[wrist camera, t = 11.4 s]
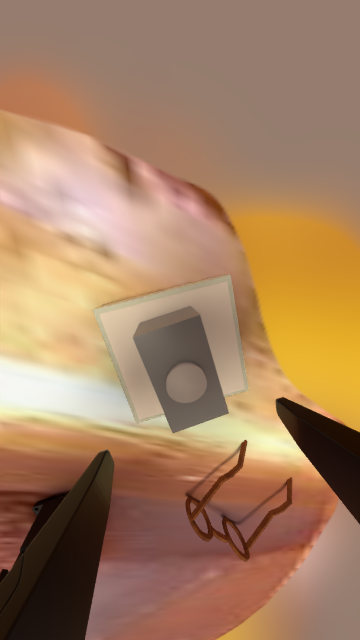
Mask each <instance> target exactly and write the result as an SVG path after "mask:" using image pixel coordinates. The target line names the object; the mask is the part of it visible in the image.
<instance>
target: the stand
mask: <svg viewBox="0 0 360 640" xmlns="http://www.w3.org/2000/svg"><path fill="white" fill-rule="evenodd" d="M189 306H191V307H192V308H193V309H194V310H196V311H197V312H198V313H199V314H200V316H201V319H202V323H203V326H204V330H205V333H206V336H207V340H208V343H209V347H210V350H211V354H212V357H213V360H214V364H215V367H216V371H217V374H218V378H219V381H220V385H221V388H222V391H223V395H224V397H228V396H231V395H234V394H238V393H241V392H245V391H248V390H249V389H248V382H247V376H246V369H245V363H244V357H243V350H242V344H241V337H240V331H239V325H238V318H237V312H236V305H235V299H234V293H233V286H232V280H231V275H219V276H215V277H211V278H207V279H204V280H200V281H196V282H192V283H188V284H184V285H180V286H176V287H172V288H168V289H164V290H160V291H156V292H152V293H149V294H145V295H141V296H137V297H133V298H129V299H125V300H121V301H117V302H113V303H109V304H105V305H102V306H100V307H98V308H96V309H93V313H94V315H95V318H96V321H97V323H98V326H99V328H100V331H101V333H102V336H103V339H104V341H105V344H106V346H107V349H108V351H109V354H110V357H111V359H112V362H113V364H114V367H115V369H116V372H117V375H118V377H119V380H120V382H121V385H122V387H123V390H124V393H125V395H126V398H127V400H128V403H129V405H130V408H131V411H132V413H133V416H134V418H135V421H136V423H139V422H142V421H146V420H149V419H152V418H156V417H159V416H163V415H165V414H164V411H163V409H162V406H161V404H160V402H159V399H158V397H157V395H156V392H155V390H154V387H153V385H152V383H151V380H150V378H149V376H148V373H147V371H146V368H145V366H144V364H143V361H142V359H141V357H140V354H139V352H138V349H137V347H136V345H135V342H134V340H133V336H134V333H135V331H136V329H137V327H138V325H139V323H141V322H144V321H147V320H150V319H153V318H156V317H159V316H162V315H165V314H168V313H171V312H174V311H177V310H180V309H183V308H186V307H189Z"/></svg>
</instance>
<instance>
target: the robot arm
mask: <svg viewBox="0 0 360 640" xmlns="http://www.w3.org/2000/svg"><path fill="white" fill-rule="evenodd" d="M276 410H277V414H278V416H279V418H280V419H281V421H282V422H283V424H284V425H285V427H286V428H287V430H288V431H289V433H290V434H291V436H292V437H293V439H294V440H295V442H296V443H297V445H298V446H299V448H300V449H301V450H302V452H303V453H304V454H305V455H306V457H307V458H308V459H309V461H310V462H311V463H312V464H313V466H314V467H315V468H316V469H317V471H318V472H319V473H320V475H321V476H322V477H323V478H324V480H325V481H326V482H327V483H328V485H329V486H330V487H331V489H332V490H333V491H334V492H335V494H336V495H337V496H338V497H339V499H340V500H341V501H342V502H343V504H344V505H345V506H346V507H347V509H348V510H349V511H350V513H351V514H352V515H353V516H354V518H355V519H356V520H357V521H358V523H359V524H360V432H358V431H356V430H353V429H351V428H349V427H347V426H345V425H343V424H340V423H338V422H336V421H334V420H332V419H330V418H327V417H325V416H323V415H321V414H319V413H317V412H314V411H312V410H310V409H308V408H306V407H304V406H301V405H299V404H297V403H295V402H293V401H291V400H288V399H286V398H284V397H282V398H278V399H276ZM113 473H114V461H113V458H112V456H111V454H110V452H109V450H104V451H101V452H99V453H98V454H97V456H96V457H95V458H94V460H93V461H92V462H91V464H90V465H89V466H88V468H87V469H86V470H85V472H84V473H83V474H82V476H81V477H80V478H79V480H78V481H77V482H76V484H75V485H74V486H73V488H72V489H71V490H70V492H69V493H68V494H64V495H61V496H58V497H55V498H51V499H48V500H45V501H42V502H38V503H36V504H35V505H34V507H33V509H32V510H33V511H34V513H35V514H36V516H37V517H36V519H35V521H34V523H33V525H32V527H31V529H30V531H29V532H28V534H27V536H26V538H25V540H24V542H23V544H22V546H21V548H20V554H19V555H18V557H17V559H16V561H15V563H14V565H13V567H12V569H11V570H10V572H8V570H6V569H2V571H1V573H0V640H85V635H86V630H87V625H88V620H89V614H90V609H91V604H92V598H93V593H94V588H95V583H96V577H97V572H98V567H99V561H100V556H101V551H102V546H103V540H104V535H105V530H106V524H107V519H108V514H109V508H110V501H111V491H112V482H113Z"/></svg>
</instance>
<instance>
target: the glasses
mask: <svg viewBox="0 0 360 640" xmlns="http://www.w3.org/2000/svg"><path fill="white" fill-rule="evenodd" d="M246 446H247V441H246V440H245V441H244V442H242V444H241V449H240V454H239V459H238V464H237V465H236V466H235V467H234V468H233V469H232V470H230V471H229V472H228V473H226V474H224V475H223V476H221V477H219V479H218V480H217V481H216V483H215V484H214V485H213V486H212V488H211V489H210V490H209V492H208V493H207V494H206V495H205V497H204V498H203V499H202V500H201V502H199V501H197V500H196V499H194V498H192V497H188V499H187V500H186V511H187V515H188V518H189V521H190V523H191V525H192V527H193V529H194V531H195V532H196V534H197V535H198V536H199V537H200V538H201V539H202V540H204V541H206V542H209V541H210V540H211V539H212V537H213V535H214V536H215V537H216V538H217V539H219V540H221V541H223V542H225V543H227V542H229V544H230V546H231V548H232V549H233V550H234V552H235V553H236V554H237V556H238V557H239V558H240V559H241V560H243V561H245V562H247V561H248V559H249V558H250V555H249V550H250V548H251V547H252V546H253V544H254V543H255V541H256V540H257V539H258V537H259V536H260V534H261V533H262V532H263V530H264V529H265V528H266V526H267V525H268V523H269V522H270V521H271V519H272V518H273V516H275V515H278V514H280V513H282V512H284V511H285V510H286V509H287V508H288V507H289V506H290V505H291V504H292V478H289V479H288V480H287V501H286V502H285V503H283V504H282V505H281V506H280V507H278V508H276V509H273V510H271V511H269V512H268V514H267V515H266V516H265V518H264V519H263V521H262V522H261V523H260V525H259V526H258V527H257V529H256V530H255V532H254V533H253V534H252V536H251V537H250V538H249V540H248V541H247V543H245V541H244V538H243V537H242V535H241V533H240V531H239V530H238V528H237V527H236V525H235V524H234V523H233V522H232V521H231V520H229V519H228V518H226V517H224V518H223V520H222V525H223V529H224V532H225V535H226V536H225V535H223V534H222V533H220V532H218V531H216V530H215V529H214V528H213V527H212V526H211V523H210V520H209V518H208V515H207V513H206V511H205V509H204V507H205V506H206V504H207V503H208V502H209V500H210V499H211V498H212V497H213V495H214V494H215V493H216V491H217V490H218V489H219V488H220V486H221V485H222V484H223V482H225V481H227V480H228V479H230V478H232V477H233V476H234V475H235V474H236V473H237V472H238V471H239V470H240V469H241V468H242V467H243V462H244V457H245V452H246ZM190 503H193V504H195V505H196V506H197V507H196V508H195V509H194V511H193V512H192V513H191V509H190ZM200 512H202V514H203V516H204V518H205V521H206V523H207V527H208V534H206V533H204V532H202V531H201V530H200V529H199V527H198V526H197V524H196V523H195V521H194V520H195V519H196V517H197V516H198V515H199V513H200ZM226 523H228V524H229V525H230V526H232V528H233V529H234V530H235V531H236V533H237V535H238V536H239V538H240V540H241V542H242V545H243V547H244V551H245V554H243V553H242V552H241V551H239V549H238V548H237V547H236V546H235V544H234V543H233V541H232V539H231V537H230V535H229V532H228V529H227V525H226Z"/></svg>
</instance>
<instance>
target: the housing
mask: <svg viewBox="0 0 360 640" xmlns="http://www.w3.org/2000/svg"><path fill="white" fill-rule="evenodd" d="M133 340H134V342H135V345H136V347H137V349H138V352H139V354H140V357H141V359H142V361H143V364H144V366H145V368H146V371H147V373H148V376H149V378H150V380H151V383H152V385H153V387H154V390H155V392H156V395H157V397H158V399H159V402H160V404H161V406H162V409H163V411H164V414H165V416H166V418H167V421H168V423H169V426H170V428H171V430H172V433H175V432H178V431H181V430H183V429H186V428H189V427H192V426H195V425H197V424H200V423H203V422H206V421H208V420H211V419H214V418H217V417H220V416H222V415H225V414H228V413H229V412H228V409H227V405H226V402H225V398H224V395H223V391H222V388H221V385H220V381H219V378H218V374H217V371H216V367H215V364H214V360H213V357H212V354H211V350H210V347H209V343H208V340H207V336H206V333H205V330H204V326H203V323H202V319H201V316H200V314H199V313H198V312H197V311H196V310H194V309H193V308H192V307H191V306H189V307H186V308H183V309H180V310H177V311H174V312H171V313H168V314H165V315H162V316H159V317H156V318H153V319H150V320H147V321H144V322H141V323H139V325H138V327H137V329H136V331H135V333H134V336H133Z"/></svg>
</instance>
